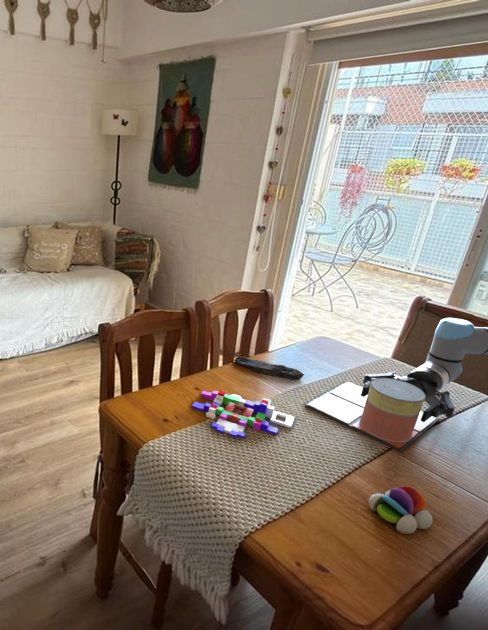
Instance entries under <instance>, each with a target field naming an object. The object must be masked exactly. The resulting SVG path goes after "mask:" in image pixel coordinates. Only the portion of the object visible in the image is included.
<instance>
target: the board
mask: <svg viewBox="0 0 488 630" xmlns="http://www.w3.org/2000/svg"><path fill="white" fill-rule="evenodd" d="M362 389H363V386H360V385H358V384H355V383H353V382H350V381H346V382H344V383H342V384H340V385H338V386H336V387H335V388H333V389H331V390H330V391H328V392H326V393H324V394H322V395H321V396H318V397H317V398H315V399H313V400H311V401H309V402H308V403H306V404H305V405H304V406H305V407H306V408H308V409H310V410H312V411H314V412H316V413H318V414H320V415H323V416H324V417H326V418H329V419H331V420H332V421H335V422H336V423H339V424H341V425H343V426H345V427H347V428H348V429H352V430H354V431H355V432H358V433H359V434H362V435H364V436H366V437H368V438H370V439H372V440H374V441H377V442H379V443H380V444H383V445H385V446H387V447H388V448H390V449H393V450H395V451H397V452H400V453H401V452H402V451H404V450H405V449H406V448H407V447H409V446H410V445H411V444H412V443H414V442H415V441H416V440H417V439H418V438H419V437H421V436H422V435H424V433H426V432H427V431H428V430H429V429H430V428H432V427H434V425H435V424H436V423H438V422H439V421H440V418H439V417H436V418H435V417H433V416H431V417H430V418H429V419H428V420H426V421H425V422H422V421H421V418H422V415H423V412H424V411H421V410H420V413H419V416H418V419H417V422H416V424H415V427H414V430H413V433H412V437H411V439H410V440H409V441H406V442H392V441H387V440H384V439H381V438H378V437H376V436H374V435H372V434H370V433H368V432H367V431H366V430H364V429H363V428H362V426H361V425H360V419H361V416H362V413H363V409H364V406H365V403H366V399H367V396H368V395H366V396H365V397H362V396H361V393H362Z"/></svg>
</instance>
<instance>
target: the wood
mask: <svg viewBox="0 0 488 630" xmlns="http://www.w3.org/2000/svg"><path fill="white" fill-rule="evenodd" d="M230 363H231V364H234V365H236V366H238V367H241V368H244V369H248V370H250V372H252V373H254V374H259V375H264V376H268V377H272V378H280V379H284V380H289V381H298V380H301V379H302V378H303V377H304V376H305V374H304V373H303V372H302V371H300V370H298V369H297V368H293V367H289V366H286V365H284V364H275V363H274V364H273V363H269V362H266V361H262V360H258V359H253V358H250V357H246V356H237V357H235V358H234V359H233V361H231V362H230Z"/></svg>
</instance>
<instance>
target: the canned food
mask: <svg viewBox="0 0 488 630" xmlns="http://www.w3.org/2000/svg"><path fill="white" fill-rule="evenodd" d="M425 397H426V396H425V393H424V392H423V391H422V390H421V389H419V388H418V387H416V386H414V385H412V384H409V383H407V382H404V381H400V380H396V379H391V378H376V379H373V380H372V381H371V385H370V389H369V392H368V396H367V399H366V403H365V406H364V409H363V413H362V416H361V419H360V425H361V426H362V428H363V429H364V430H366V431H367V432H368V433H370V434H372V435H374V436H376V437H378V438H381V439H384V440H387V441H392V442H406V441H409V440H410V439H411V437H412V433H413V430H414V427H415V424H416V422H417V419H418V416H419V413H420V411H421V410H422V407H423V404H424V402H425V401H424V399H425Z"/></svg>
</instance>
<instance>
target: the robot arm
mask: <svg viewBox="0 0 488 630" xmlns="http://www.w3.org/2000/svg"><path fill="white" fill-rule="evenodd" d="M468 354H469V355H471V354H472V355H488V326H484V327H483V326H475V325H474V324H473V323H472V322H470V321H469V320H466V319H462V318H455V317H445V318H442V319H440V321H439V323H438V324H437V327H436V329H435V331H434V336H433V338H432V342H431V346H430V349H429V351H428V353H427V355H426V358H425V359H426V360H425V362H424V363H423V364H422V365H420V366H418V367H417V368H415V369H414V370H412V371H410V372H409V373H408V374H407V375H405V376H398V375H397V372H395V371H390V372H385V373H371V374H370V373H369V374H364V377H363V380H362V384H364V385H363V386H362V388H363V389H362V393H361V396H362V397H365V396H366V395H368V392H369V389H370V385H371V381H372V380H373V379H376V378H391V379H396V380H400V381H404V382H407V383H409V384H412V385H414V386H416V387H418V388H419V389H421V390H422V391H423V392H424V393H425V396H426V397H425V399H424V401H423V402H426V403H427V405H428V406H429V407H427V409H424V411H422V412H423V415H422V418H421V421H422V422H425V421H426V420H428V419H429V418H430V417H431V416H433V417H435V418H436V417H437V418H439V416H442V415H445V417H446V418H449V419H450V418H453V415H454V412H455V410H456V408H455V406H454V404H453V403H454V402H452V399H451V397H450V396H451V391H447V390H445V391H441V390H443V388H445V387H446V386H447V385H449V384H451V383H452V382H454V381H455V380H456V379H459V377H460V375H461V374H462V371H463V365H462V362H463V360H464V358H465V355H468Z"/></svg>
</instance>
